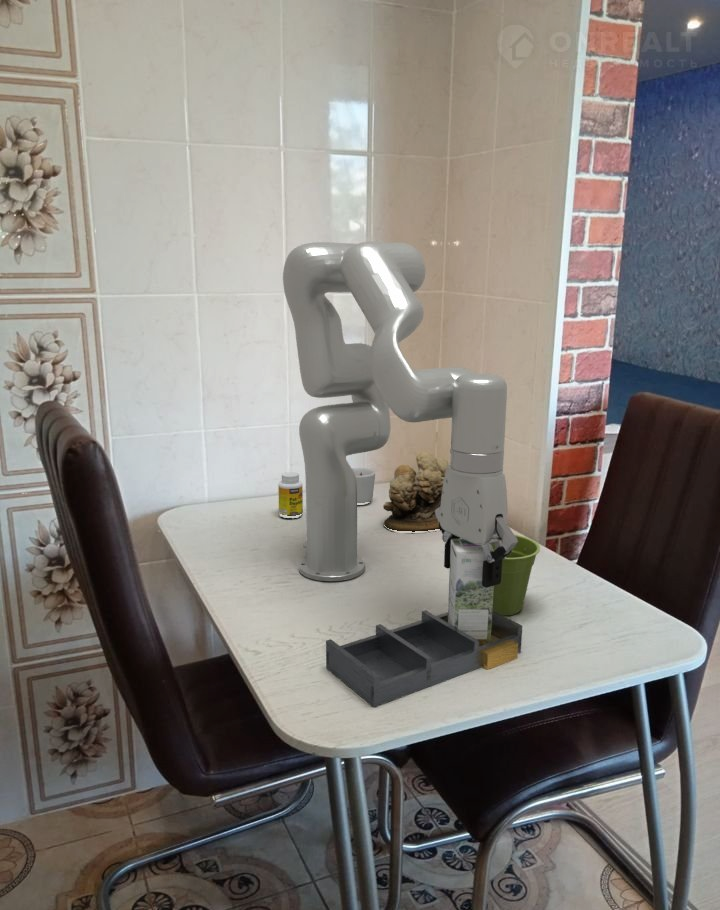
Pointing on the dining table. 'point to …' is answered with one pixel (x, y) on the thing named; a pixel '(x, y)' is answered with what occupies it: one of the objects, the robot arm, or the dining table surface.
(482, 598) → the syrup box
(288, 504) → the supplement bottle
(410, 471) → the brown lumpy piece
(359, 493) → the cup
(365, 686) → the tray
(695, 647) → the dining table surface
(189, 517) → the dining table surface
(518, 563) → the plant pot
